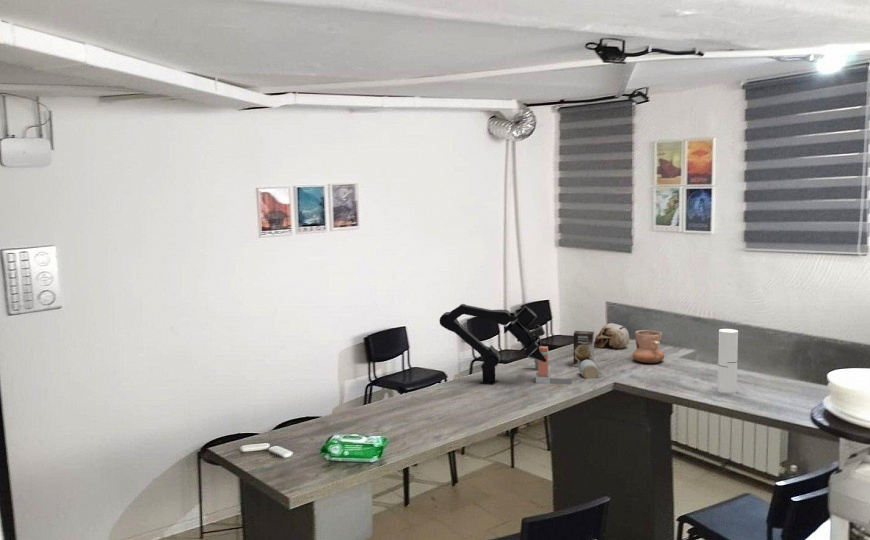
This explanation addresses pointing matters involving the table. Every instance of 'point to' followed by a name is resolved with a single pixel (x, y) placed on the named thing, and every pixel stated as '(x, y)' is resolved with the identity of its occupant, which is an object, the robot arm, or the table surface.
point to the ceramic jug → (648, 347)
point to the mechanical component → (535, 362)
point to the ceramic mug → (589, 369)
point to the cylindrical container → (727, 360)
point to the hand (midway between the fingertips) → (546, 358)
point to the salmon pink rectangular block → (543, 365)
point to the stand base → (550, 380)
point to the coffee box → (583, 347)
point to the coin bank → (612, 337)
